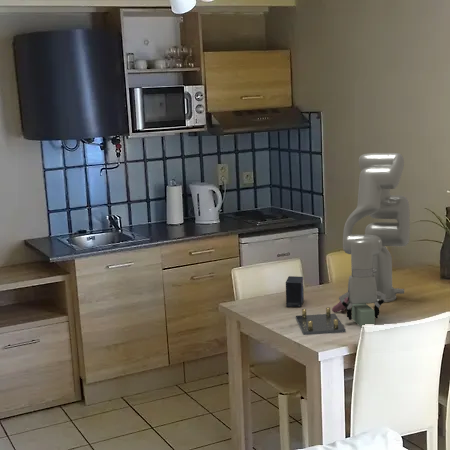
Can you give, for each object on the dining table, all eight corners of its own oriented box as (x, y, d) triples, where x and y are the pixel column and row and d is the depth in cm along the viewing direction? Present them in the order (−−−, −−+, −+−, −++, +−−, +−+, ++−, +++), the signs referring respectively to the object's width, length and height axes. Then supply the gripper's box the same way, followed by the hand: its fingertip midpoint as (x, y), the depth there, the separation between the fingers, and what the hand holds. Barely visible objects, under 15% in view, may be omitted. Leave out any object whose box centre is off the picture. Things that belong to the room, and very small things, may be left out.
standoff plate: (335, 315, 272) (334, 305, 271) (345, 332, 252) (345, 321, 252) (295, 318, 272) (295, 308, 271) (303, 334, 252) (303, 323, 251)
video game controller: (340, 317, 275) (347, 302, 273) (330, 311, 277) (337, 296, 274) (350, 310, 283) (357, 296, 281) (340, 304, 285) (347, 290, 283)
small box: (302, 307, 286) (301, 282, 284) (285, 307, 287) (284, 282, 285) (304, 300, 296) (303, 275, 294) (288, 300, 297) (287, 275, 296)
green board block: (364, 318, 268) (364, 302, 267) (374, 326, 257) (374, 310, 256) (351, 319, 268) (351, 303, 267) (361, 327, 257) (361, 311, 256)
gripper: (383, 269, 263) (383, 313, 266) (336, 271, 263) (337, 316, 266) (388, 273, 256) (389, 319, 259) (340, 276, 255) (341, 322, 258)
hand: (363, 318), depth 262 cm, fingers open, 9 cm apart
